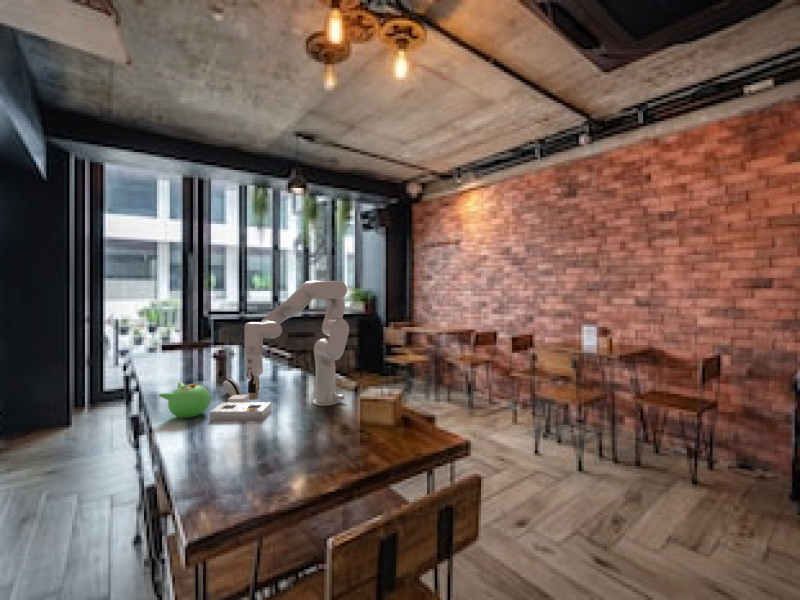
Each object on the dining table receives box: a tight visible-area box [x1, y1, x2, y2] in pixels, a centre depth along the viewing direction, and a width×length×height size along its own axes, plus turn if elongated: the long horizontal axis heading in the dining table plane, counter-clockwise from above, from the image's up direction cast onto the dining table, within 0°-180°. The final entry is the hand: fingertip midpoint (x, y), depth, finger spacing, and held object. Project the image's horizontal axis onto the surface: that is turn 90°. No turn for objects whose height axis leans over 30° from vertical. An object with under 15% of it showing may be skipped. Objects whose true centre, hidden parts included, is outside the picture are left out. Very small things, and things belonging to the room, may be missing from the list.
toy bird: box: [158, 381, 211, 419], centre depth 183 cm, size 18×17×15 cm
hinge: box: [222, 378, 245, 397], centre depth 217 cm, size 17×5×10 cm, turn 39°
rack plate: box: [209, 401, 272, 422], centre depth 184 cm, size 22×14×4 cm, turn 92°
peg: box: [248, 375, 259, 401], centre depth 184 cm, size 4×4×10 cm
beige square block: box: [227, 394, 249, 403], centre depth 197 cm, size 7×7×5 cm
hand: (253, 391), depth 184 cm, fingers closed on peg, 4 cm apart
